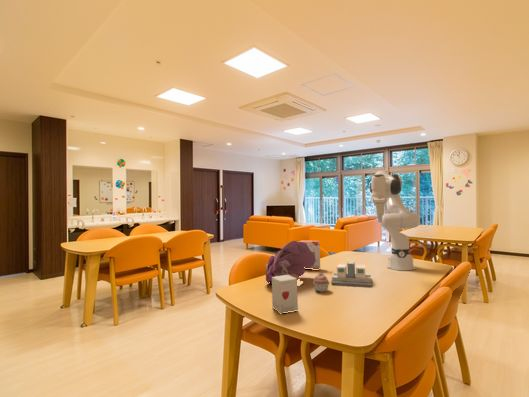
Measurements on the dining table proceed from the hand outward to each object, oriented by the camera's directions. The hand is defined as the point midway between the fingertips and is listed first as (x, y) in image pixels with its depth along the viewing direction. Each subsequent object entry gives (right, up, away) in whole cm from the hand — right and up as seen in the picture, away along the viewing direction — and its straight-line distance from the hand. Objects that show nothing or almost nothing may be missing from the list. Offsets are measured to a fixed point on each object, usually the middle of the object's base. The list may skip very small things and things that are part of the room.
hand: (380, 222), depth 178 cm
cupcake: (-41, -37, -21) cm, 58 cm away
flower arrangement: (-58, -37, -3) cm, 69 cm away
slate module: (-19, -33, -5) cm, 39 cm away
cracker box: (-39, -37, +30) cm, 61 cm away
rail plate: (-19, -36, -5) cm, 41 cm away
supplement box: (-63, -37, -47) cm, 87 cm away
